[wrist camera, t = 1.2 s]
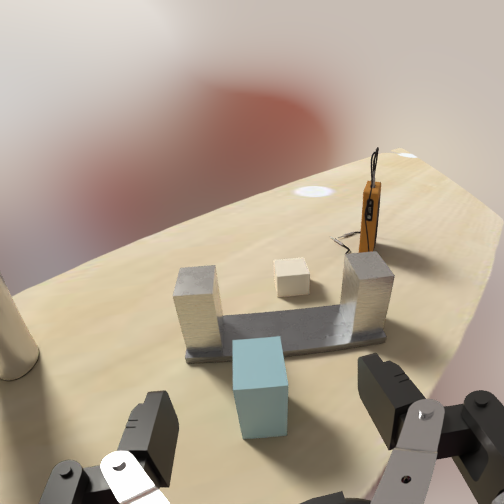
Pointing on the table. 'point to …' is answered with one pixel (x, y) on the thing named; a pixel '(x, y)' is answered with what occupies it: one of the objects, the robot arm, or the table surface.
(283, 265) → the block
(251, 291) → the table surface
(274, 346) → the block
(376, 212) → the multimeter
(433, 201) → the table surface
